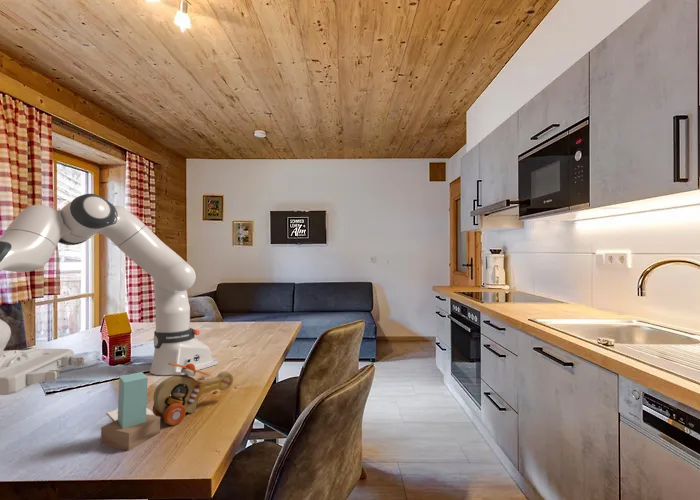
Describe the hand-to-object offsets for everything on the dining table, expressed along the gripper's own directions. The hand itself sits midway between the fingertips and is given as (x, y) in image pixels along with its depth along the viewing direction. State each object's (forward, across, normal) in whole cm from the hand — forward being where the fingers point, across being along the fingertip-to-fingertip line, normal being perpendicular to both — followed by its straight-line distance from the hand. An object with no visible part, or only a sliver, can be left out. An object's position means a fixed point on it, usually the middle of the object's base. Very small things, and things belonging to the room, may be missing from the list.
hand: (71, 367), depth 80 cm
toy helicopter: (+23, +9, +16) cm, 30 cm away
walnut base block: (+14, -3, +16) cm, 21 cm away
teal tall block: (+14, -3, +12) cm, 18 cm away
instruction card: (+8, +10, +16) cm, 20 cm away
